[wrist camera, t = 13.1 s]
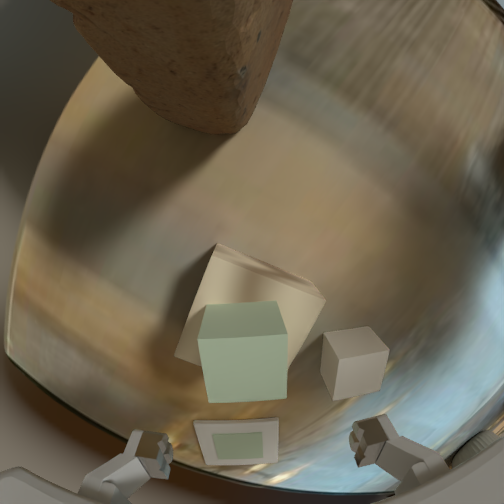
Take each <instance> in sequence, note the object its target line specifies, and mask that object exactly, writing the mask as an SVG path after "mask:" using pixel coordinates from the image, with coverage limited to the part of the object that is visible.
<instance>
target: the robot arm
mask: <svg viewBox="0 0 504 504" xmlns="http://www.w3.org/2000/svg"><path fill="white" fill-rule="evenodd" d="M352 428H353V431H352V432H351V433H350V436H349V443H350V447H351V450H352V451H354V452H355V453H356V454H355V457H354V458H355V460H356V463H357V466H358V467H362V466H366V465H370V464H374V463H375V464H376V465H378V466H379V467H381V468H382V469H383V470H385V471H386V472H388V473H389V474H391V475H392V476H394V477H395V478H397V479H398V480H400V481H401V483H400V484H399V485H398V487H397V488H396V490H395V491H394V492H395V494H396V495H395V496H392V497H390V498H387V499H384V500H381V501H378V502H375V503H372V504H504V437H501V438H499V439H497V440H496V441H494V442H493V443H492V444H490V445H489V446H488V447H486V448H485V449H483V450H482V451H480V452H479V453H477V454H476V455H474V456H473V457H471V458H470V459H468V460H466V461H465V462H463V463H461V464H460V465H458V466H456V467H454V468H453V469H451V470H450V469H449V467H448V466H447V464H446V463H445V461H444V459H443V458H442V456H441V455H440V453H439V452H436V451H434V450H432V449H429V448H427V447H425V446H423V445H420V444H418V443H416V442H414V441H412V440H410V439H408V438H405V437H403V436H400V437H399V435H398V433H397V432H396V430H395V428H394V427H393V425H392V423H391V421H390V420H389V418H388V416H387V415H386V414H382V415H379V416H375V417H371V418H367V419H363V420H359V421H355V422H354V423H353V426H352ZM168 439H169V438H168V436H167V434H165V433H157V432H150V431H144V430H138V429H134V430H133V431H132V433H131V436H130V438H129V440H128V443H127V445H126V448H125V450H124V453H123V454H121V453H120V454H119V455H117V456H116V457H114V458H113V459H111V460H109V461H108V462H106V463H105V464H103V465H101V466H100V467H98V468H97V469H95V470H93V471H92V472H90V473H88V474H87V475H86V476H85V478H84V480H83V482H82V485H81V487H80V489H79V492H78V494H77V493H74V492H72V491H70V490H67V489H65V488H63V487H60V486H58V485H56V484H54V483H52V482H50V481H48V480H45V479H44V478H42V477H40V476H38V475H36V474H34V473H32V472H30V471H29V470H27V469H25V468H23V467H15V468H11V469H7V470H5V471H2V472H0V504H132V503H131V502H130V501H129V500H128V498H129V497H130V496H131V495H132V494H134V493H135V492H136V491H137V490H138V489H139V488H140V487H141V486H142V485H143V484H145V483H146V482H147V481H148V480H149V479H150V477H153V478H160V479H168V477H169V472H170V467H169V465H168V464H169V463H171V462H172V459H173V448H172V445H171V443H169V442H168Z"/></svg>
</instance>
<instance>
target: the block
mask: <svg viewBox="0 0 504 504" xmlns="http://www.w3.org/2000/svg"><path fill="white" fill-rule="evenodd" d="M50 1H52V2H53V3H55V4H56V5H58V6H60V7H63V8H65V9H67V10H69V11H70V12H72V13H73V22H74V25H75V27H76V29H77V31H78V32H79V33H80V34H81V35H82V36H83V37H84V38H85V40H86V41H87V43H88V44H89V45H90V46H91V47H92V48H93V49H94V50H95V51H96V53H97V54H98V55H99V56H100V57H101V58H102V59H103V61H104V62H105V63H106V64H107V65H108V66H109V67H110V69H111V70H112V71H113V72H114V73H115V74H116V75H117V76H118V77H120V78H121V79H122V80H123V81H124V82H125V83H126V84H128V85H130V86H131V87H133V89H134V91H135V93H136V94H137V96H138V97H139V98H140V99H141V100H142V101H143V102H144V103H145V104H146V105H147V106H148V107H150V108H151V109H152V110H153V111H154V112H156V113H157V114H158V115H160V116H161V117H163V118H165V119H167V120H169V121H171V122H174V123H176V124H179V125H182V126H185V127H188V128H192V129H194V130H197V131H201V132H204V133H209V134H221V133H236V132H238V131H239V130H240V129H241V128H242V127H244V126H245V125H246V124H247V123H248V121H249V119H250V117H251V116H252V114H253V111H254V109H255V107H256V105H257V102H258V100H259V98H260V95H261V93H262V91H263V88H264V86H265V84H266V81H267V78H268V75H269V72H270V69H271V67H272V64H273V61H274V59H275V56H276V53H277V50H278V47H279V44H280V41H281V37H282V34H283V31H284V28H285V25H286V22H287V20H288V17H289V13H290V9H291V5H292V2H293V0H50Z"/></svg>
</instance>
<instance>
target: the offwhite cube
mask: <svg viewBox="0 0 504 504" xmlns="http://www.w3.org/2000/svg"><path fill="white" fill-rule="evenodd" d="M389 351H390V349H389V348H388V347H387V346H386V345H385V344H384V343H383V341H382V340H381V339H380V338H379V337H378V336H377V335H376V334H375V333H374V331H373V330H372V329H371V328H370V327H369V326H365V327H359V328H352V329H345V330H338V331H330V332H323V345H322V356H321V366H320V373H321V375H322V378H323V380H324V382H325V385H326V387H327V389H328V392H329V394H330V396H331V399H332V401H336V400H341V399H346V398H351V397H356V396H360V395H365V394H369V393H373V392H377V391H380V388H381V384H382V380H383V376H384V373H385V369H386V364H387V360H388V356H389Z"/></svg>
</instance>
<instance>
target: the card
mask: <svg viewBox="0 0 504 504" xmlns="http://www.w3.org/2000/svg"><path fill="white" fill-rule="evenodd" d="M193 424H194V427H195V431H196V434H197V437H198V441H199V444H200V447H201V450H202V453H203V456H204V459H205V462H206V465H250V464H265V463H276V462H278V435H279V419H278V417H274V418H262V419H246V420H194V422H193Z"/></svg>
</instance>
